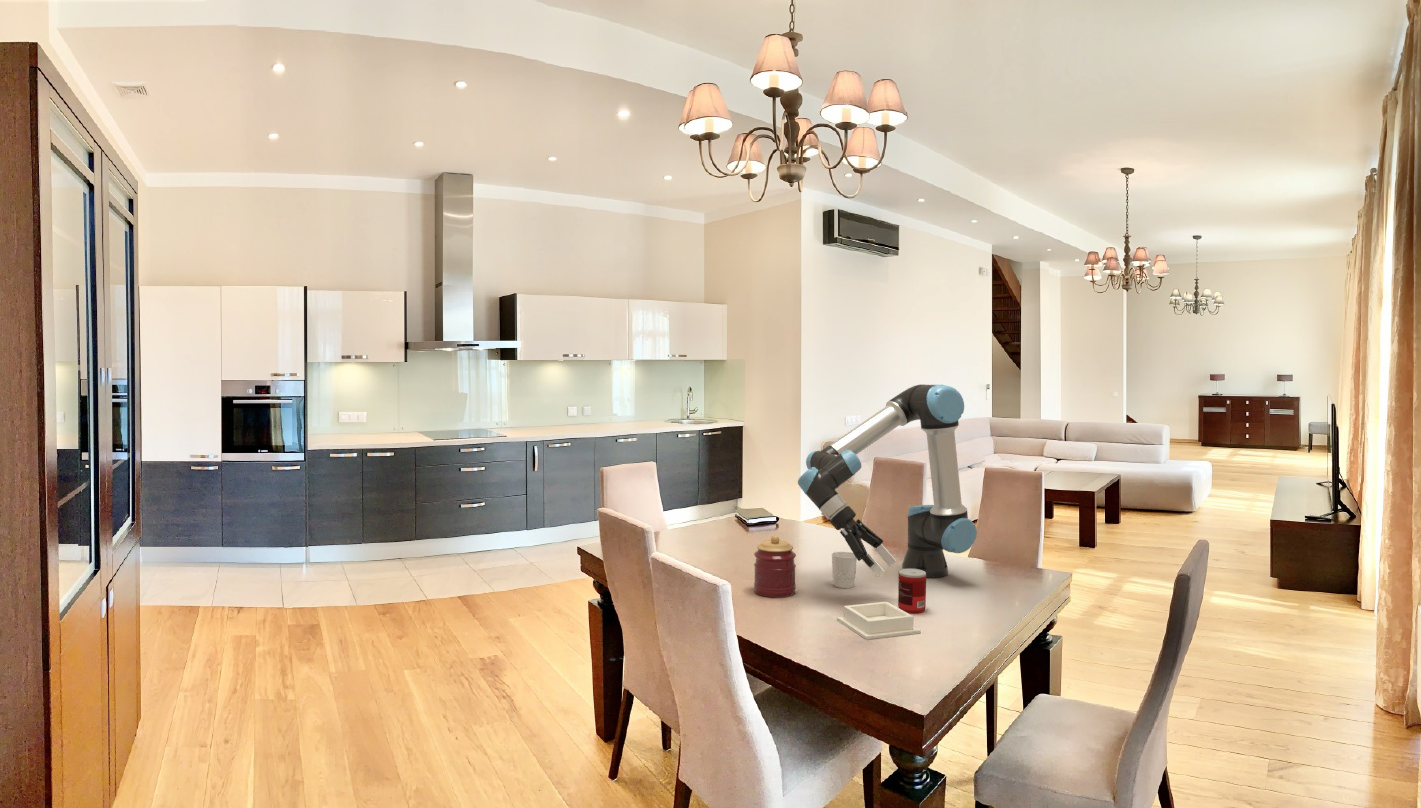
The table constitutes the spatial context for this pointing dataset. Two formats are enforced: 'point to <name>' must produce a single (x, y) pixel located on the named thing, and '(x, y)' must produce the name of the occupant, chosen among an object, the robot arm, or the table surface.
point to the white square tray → (878, 620)
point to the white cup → (844, 569)
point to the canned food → (912, 590)
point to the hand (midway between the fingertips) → (887, 568)
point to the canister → (774, 568)
